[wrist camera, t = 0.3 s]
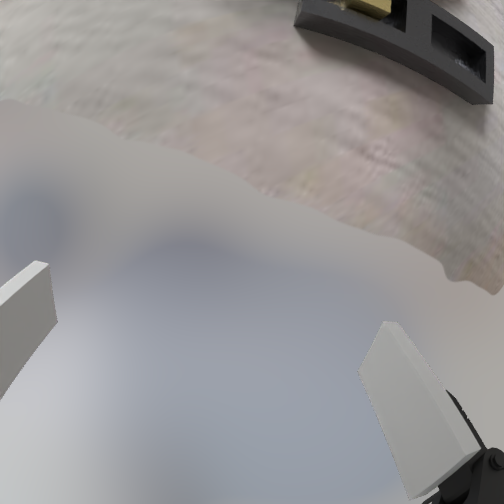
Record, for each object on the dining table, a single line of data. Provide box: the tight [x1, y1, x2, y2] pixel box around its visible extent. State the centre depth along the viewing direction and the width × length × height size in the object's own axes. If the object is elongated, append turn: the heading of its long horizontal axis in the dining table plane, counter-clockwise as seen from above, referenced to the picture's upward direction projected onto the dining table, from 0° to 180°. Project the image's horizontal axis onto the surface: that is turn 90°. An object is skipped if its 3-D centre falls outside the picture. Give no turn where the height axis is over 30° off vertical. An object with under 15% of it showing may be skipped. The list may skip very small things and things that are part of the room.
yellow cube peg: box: [340, 0, 391, 21], centre depth 23 cm, size 4×4×6 cm
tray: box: [294, 0, 494, 105], centre depth 25 cm, size 11×30×5 cm, turn 79°
